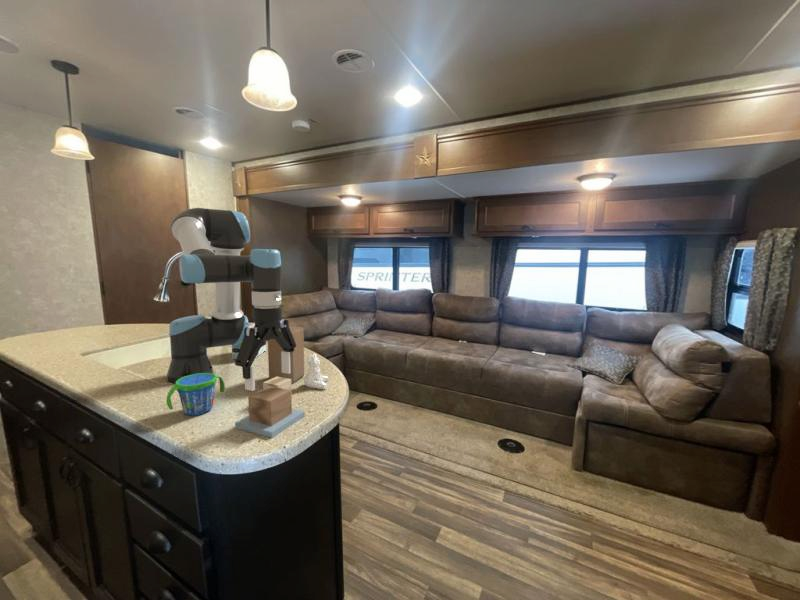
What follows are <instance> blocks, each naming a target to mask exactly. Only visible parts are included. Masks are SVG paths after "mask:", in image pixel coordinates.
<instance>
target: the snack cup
mask: <svg viewBox="0 0 800 600" xmlns="http://www.w3.org/2000/svg"><path fill="white" fill-rule="evenodd" d="M217 379H218V380H219V392H220V393H224V392H225V390H226V385H225V381H224V379H223V378H222V377H221V376H219V375H216V374H215V373H213V374H212V373H198V374H192V375H188V376H185V377H182V378H180V379H178V380H177V381H176V383H174V385H173V386H172V387H170V389H169V391H168V394H167V395H166V405H167V407H168V409H169V410H174V407H173V404H172V399H171V398H172V395H173V394H174V393H175V392H176V391H177V392H178V396H179V398H180V405H181V407H182V411H183V413H184V415H187V416H199V415H203V414H205V413H208V412H211V411H212V409H213V407H214V400H215V390H216V389H215V388H216V382H217Z"/></svg>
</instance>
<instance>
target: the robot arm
mask: <svg viewBox="0 0 800 600" xmlns="http://www.w3.org/2000/svg"><path fill="white" fill-rule="evenodd" d="M170 228H171V229H170V230H171V233H172V235H173V237H174V239H175V240H176V241H178V242H179V244H180V248H181V250H182V253H183V254H182V255H181V256H180V257H179V275H180V279H181V281H182V282H183V283H185V284H197V285H198V284H199V285H200V284H215V285H214V286H215V309H214V310H213V311H212V312H211V314H210V315H211V317H210V318H206V317H205V315H203V314H198V315H190V316H189V315H188V316H184V317H180V318H177V319H174V320H172V321H171V322H170V324H169V333H168V336H169V340H170V341H169V343H170V363H169V367H168V371H167V373H166V380H167V382H169V383H172V384H175V383H176V381H177V380H178V379H180V378H182V377H185V376H188V375H192V374H198V373H212V374H214V368H213V366H212V363H211V361H210V359H209V356H208V353H207V352H208V351H207V349H208V348H209V349H210V348H218V347H225V346H232V345H235V344H238V343H242V344H241V347H240V350H239V353H238V356H237V358H236V359H235V361H234V362H235V363H234V365H235V366H237V367H241V368H242V378H243V379H244V389H245V390H248V391H252V392H253V391H255V390H256V381H255V380H256V378H255V375H256V374H255V373H256V371H255V365H253V364H254V361H255V360H256V358H257V357H258V356H257V354H258V352H259V350H260V348H261V346H262V344H264V343H265V342H266V343H267V342H268V340H270V339H275V340H276V341H277V343H278V344H279V345H280V346H281V347H282V349H283V350H285V351H282V352H281V364H282V373H287V374H290V373H291V368H290V361H291V352H293V351H294V348H295V347H296V343H295V341H294V338H293V336H292V333H291V331H290V328H289V326H290V325H289V320H288V319H283V307H281V305H282V258H281V252H280V251H279V250H278V249H275V248H274V249H272V248H271V249H269V248H268V249H266V248H252V249H251V250H250V254H248V255H241V252H242V251H243V250H244V249H245V247H246V246H245V245H246V244H249V243H250V242H251V241H250V240H251V230H250V223H249V221H248V219H247V216H246V215H245V214H244V213H243V212H241V211H235V210H227V209H215V208H213V209H212V208H204V207H194V208H193V207H192V208H188V209H185V210H183V211H181V212H179V213H178V214H177V215H176V216H174V218H173V219H172V222H171V226H170ZM241 283H251V285H250V286H251V305H252V306H253V307H252V309H251V310H252V311H251V312H252V313H251V314H252V317H251V319H252V321H253V323H255V326H254V328H248V323H249V319H248V317H247V315H244V312H243V310H242V309H240V308H241V307H240V306H241V304H240V303H241V301H240V300H241V294H240V293H241ZM279 329H280V330H281V332H282V333H281V332H280V330H279ZM258 338H259V339H258ZM256 356H257V357H256Z"/></svg>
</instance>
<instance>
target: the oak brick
mask: <svg viewBox="0 0 800 600" xmlns="http://www.w3.org/2000/svg"><path fill="white" fill-rule="evenodd" d="M262 385H263V389H264V388H267V387H269V386H272V387H277V388H282V389H287V390H291V398H292V397H293V396H292V391H293V390H292V388H293V387H292V384H291V379H288V378H282V377H275V378H272V379H270V380H269V379H268V380H266V381H264V382H263V384H262Z"/></svg>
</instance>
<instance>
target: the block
mask: <svg viewBox="0 0 800 600" xmlns="http://www.w3.org/2000/svg"><path fill="white" fill-rule="evenodd" d="M289 328H290V331H291V333H292V336H293V338H294V341H295V343H296V347H295V348H294V351H293V352H291V361H290V368H291V373H290V374H287V373H282V364H281V352H282V351H285V350H283V349H282V347H281V346H280V345H279V344H278V343H277V341H276V340H275V339H270V340H268V341H267V356H268V357H267V358H268V361H267V363H268V380H270V379H272V378H275V377H282V378H288V379H291V385H293V384H294V383H295V382H297V381H298V380H300V379H301V378H303V377H305V344H304V343H305V342H304V341H305V338H304V336H305V335H304V327H302V326H295V325H294V326H293V325H289ZM279 330H280V329H279ZM280 332H281V330H280ZM281 333H282V332H281Z"/></svg>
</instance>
